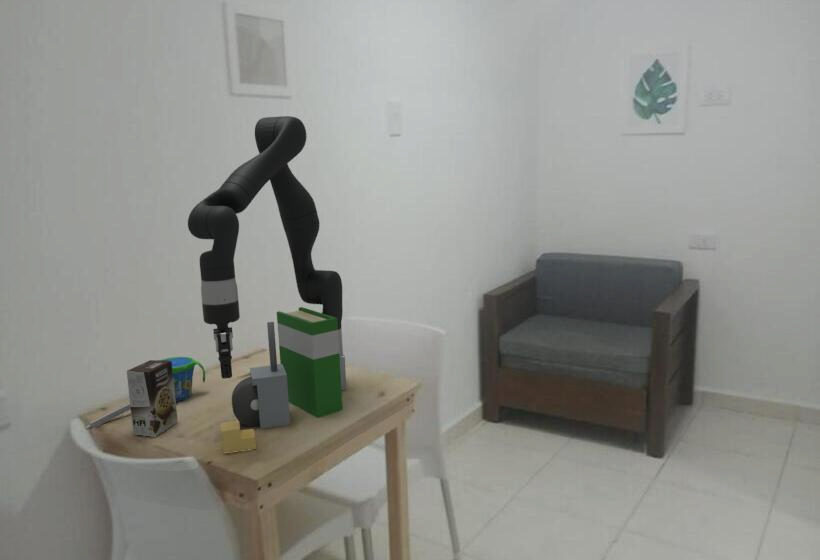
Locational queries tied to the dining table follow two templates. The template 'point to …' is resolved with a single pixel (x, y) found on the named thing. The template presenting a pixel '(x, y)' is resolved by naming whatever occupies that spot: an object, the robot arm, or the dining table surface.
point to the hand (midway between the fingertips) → (226, 371)
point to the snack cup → (183, 376)
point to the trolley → (263, 393)
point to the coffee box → (152, 397)
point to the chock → (236, 437)
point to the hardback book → (311, 360)
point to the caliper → (109, 416)
